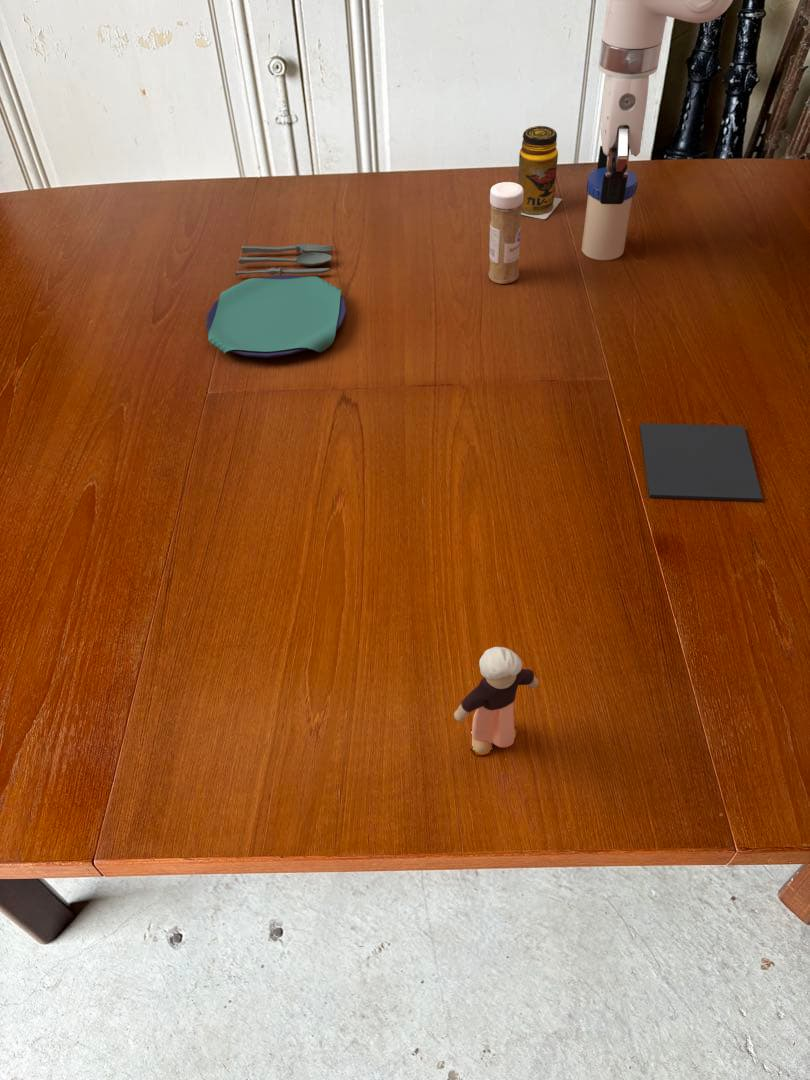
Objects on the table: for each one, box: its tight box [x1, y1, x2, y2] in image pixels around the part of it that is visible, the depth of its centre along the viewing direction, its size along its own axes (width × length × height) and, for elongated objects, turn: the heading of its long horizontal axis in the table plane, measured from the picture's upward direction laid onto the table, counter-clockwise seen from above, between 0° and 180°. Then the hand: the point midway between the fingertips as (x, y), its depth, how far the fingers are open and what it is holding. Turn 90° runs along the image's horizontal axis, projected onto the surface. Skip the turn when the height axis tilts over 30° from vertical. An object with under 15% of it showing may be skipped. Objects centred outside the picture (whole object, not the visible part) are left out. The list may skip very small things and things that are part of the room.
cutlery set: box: [205, 242, 347, 359], centre depth 118 cm, size 20×30×2 cm, turn 179°
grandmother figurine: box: [453, 646, 539, 753], centre depth 67 cm, size 8×4×13 cm, turn 126°
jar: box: [581, 193, 634, 261], centre depth 121 cm, size 6×6×11 cm
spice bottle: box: [488, 181, 524, 285], centre depth 116 cm, size 5×5×13 cm
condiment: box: [517, 125, 563, 220], centre depth 131 cm, size 7×8×12 cm
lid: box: [586, 167, 638, 200], centre depth 117 cm, size 7×7×2 cm
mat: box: [639, 422, 764, 502], centre depth 93 cm, size 12×12×1 cm
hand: (609, 187), depth 118 cm, fingers open, 8 cm apart
